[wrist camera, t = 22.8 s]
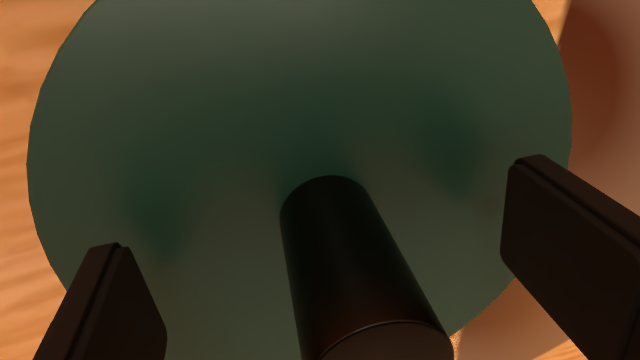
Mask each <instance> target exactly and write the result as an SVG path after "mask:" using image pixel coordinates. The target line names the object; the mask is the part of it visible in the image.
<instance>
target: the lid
mask: <svg viewBox="0 0 640 360" xmlns="http://www.w3.org/2000/svg"><path fill="white" fill-rule="evenodd" d="M571 141H572V110H571V101H570V92H569V85H568V81H567V77H566V73H565V69H564V66H563V62H562V58H561V55H560V52H559V50H558V48H557V46H556V43H555V41H554V39H553V37H552V34H551V32H550V30H549V28H548V25H547V23H546V22H545V20H544V19H543V17H542V16H541V14H540V13H539V11H538V10H537V8H536V7H535V5H534V4H533V2H532V1H531V0H96V1H95V2H94V3H93V4H92V5H91V6H90V7H89V8H88V9H87V10H86V11H85V12H84V13H83V15H82V16H81V18H80V19H79V21H78V22H77V24H76V25H75V26H74V28H73V29H72V31H71V32H70V34H69V35H68V36H67V38H66V39H65V41H64V42H63V44H62V45H61V47H60V48H59V50H58V52H57V54H56V56H55V58H54V60H53V62H52V65H51V67H50V69H49V71H48V73H47V75H46V77H45V80H44V82H43V84H42V86H41V88H40V92H39V96H38V99H37V103H36V107H35V110H34V114H33V118H32V121H31V125H30V132H29V142H28V153H27V163H26V166H27V179H28V193H29V203H30V207H31V211H32V215H33V219H34V223H35V227H36V231H37V235H38V237H39V239H40V242H41V244H42V246H43V249H44V251H45V254H46V256H47V258H48V261H49V263H50V265H51V267H52V268H53V270H54V271H55V273H56V275H57V276H58V278H59V280H60V281H61V283H62V284H63V286H64V288H65V289H66V291H68V289H69V287H70V285H71V283H72V281H73V279H74V277H75V275H76V273H77V271H78V269H79V267H80V265H81V263H82V261H83V259H84V257H85V255H86V253H87V251H88V250H89V248H91V247H95V246H99V245H104V244H109V243H114V242H118V243H119V244H120V245H121V246H122V247H125V246H127V247H129V248H130V249H131V251H132V253H133V255H134V258H135V260H136V262H137V264H138V266H139V269H140V271H141V273H142V275H143V277H144V280H145V282H146V284H147V286H148V289H149V291H150V293H151V295H152V297H153V300H154V302H155V304H156V306H157V308H158V311H159V313H160V315H161V317H162V320H163V322H164V324H165V326H166V330H167V339H168V340H167V347H166V353H165V359H164V360H454V350H453V346H452V343H451V341H450V339H449V337H450V336H451V335H453V334H454V333H456V332H457V331H459V330H460V329H462V328H463V327H464V326H465V325H467V324H468V323H469V322H470V321H472V320H473V319H474V318H475V317H477V316H478V315H479V314H480V313H482V311H484V310H485V309H486V308H487V307H488V306H489V305H490V304H491V303H492V302H493V301H494V300H495V299H496V298H497V297H498V296H499V295H500V294H501V293H502V292H503V291H504V290H505V289H506V288H507V286H508V285H509V284H510V283H511V282H512V281H513V279H514V278H515V277H516V276H515V275H514V274H513V273H512V272H511V271H510V270H509V268H508V267H507V266H506V265H505V264H504V262H503V261H502V259H501V256H500V241H501V232H502V223H503V213H504V204H505V194H506V185H507V176H508V169H509V167H510V166H512V165H513V164H514V162H515V160H516V159H518V158H522V157H527V156H532V155H536V154H542V155H545V156H546V157H548V158H550V159H551V160H553V161H554V162H556V163H557V164H559V165H560V166H562V167H564V168H565V169H568V163H569V157H570V151H571Z"/></svg>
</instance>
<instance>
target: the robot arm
mask: <svg viewBox="0 0 640 360" xmlns="http://www.w3.org/2000/svg"><path fill="white" fill-rule="evenodd" d="M500 256H501V259H502V261H503V262H504V264H505V265H506V266H507V267H508V268H509V270H510V271H511V272H512V273H513V274H514V275H515V276H516V278H517V279H518V280H519V281H520V282H521V283H522V284H523V286H524V287H525V288H526V289H527V290H528V291H529V292H530V294H532V296H533V297H534V298H535V299H536V300H537V302H538V303H539V304H540V305H541V306H542V307H543V308H544V310H545V311H546V312H547V313H548V314H549V315H550V316H551V318H552V319H553V320H554V321H555V322H556V323H557V324H558V326H559V327H560V328H561V329H562V330H563V331H564V332H565V333H566V335H567V336H568V337H569V338H570V339H571V340H572V342H573V343H574V344H575V345H576V346H577V347H578V348H579V350H580V351H581V352H582V353H583V354H584V355H585V356H586V358H587V359H588V360H640V216H638V215H637V214H635V213H633V212H632V211H630V210H629V209H627V208H625V207H624V206H623V205H621V204H619V203H618V202H616V201H615V200H613V199H612V198H610V197H608V196H607V195H605V194H604V193H602V192H601V191H599V190H598V189H596V188H595V187H593V186H591V185H590V184H588V183H587V182H585V181H584V180H582V179H581V178H579V177H578V176H576V175H574V174H573V173H571V172H570V171H568V170H567V169H565V168H564V167H562V166H560V165H559V164H557V163H556V162H554V161H553V160H551V159H550V158H548V157H546V156H545V155H542V154H536V155H532V156H527V157H522V158H518V159H516V160H515V162H514V164H513V165H512V166H510V167H509V169H508V176H507V185H506V194H505V204H504V213H503V223H502V232H501V241H500ZM167 340H168V339H167V330H166V326H165V324H164V322H163V320H162V317H161V315H160V313H159V311H158V308H157V306H156V304H155V302H154V300H153V297H152V295H151V293H150V291H149V289H148V286H147V284H146V282H145V280H144V277H143V275H142V273H141V271H140V269H139V266H138V264H137V262H136V260H135V258H134V255H133V253H132V251H131V249H130V248H129V247H127V246H125V247H122V246H121V245H120V244H119V243H118V242H114V243H109V244H104V245H99V246H95V247H91V248H89V250H88V251H87V253H86V255H85V257H84V259H83V261H82V263H81V265H80V267H79V269H78V271H77V273H76V275H75V277H74V279H73V281H72V283H71V285H70V287H69V289H68V291H67V293H66V295H65V297H64V299H63V301H62V303H61V305H60V307H59V309H58V311H57V313H56V315H55V317H54V319H53V321H52V322H51V324H50V326H49V328H48V330H47V332H46V334H45V336H44V338H43V340H42V342H41V344H40V346H39V348H38V350H37V352H36V354H35V356H34V358H33V360H164V359H165V353H166V347H167Z"/></svg>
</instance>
